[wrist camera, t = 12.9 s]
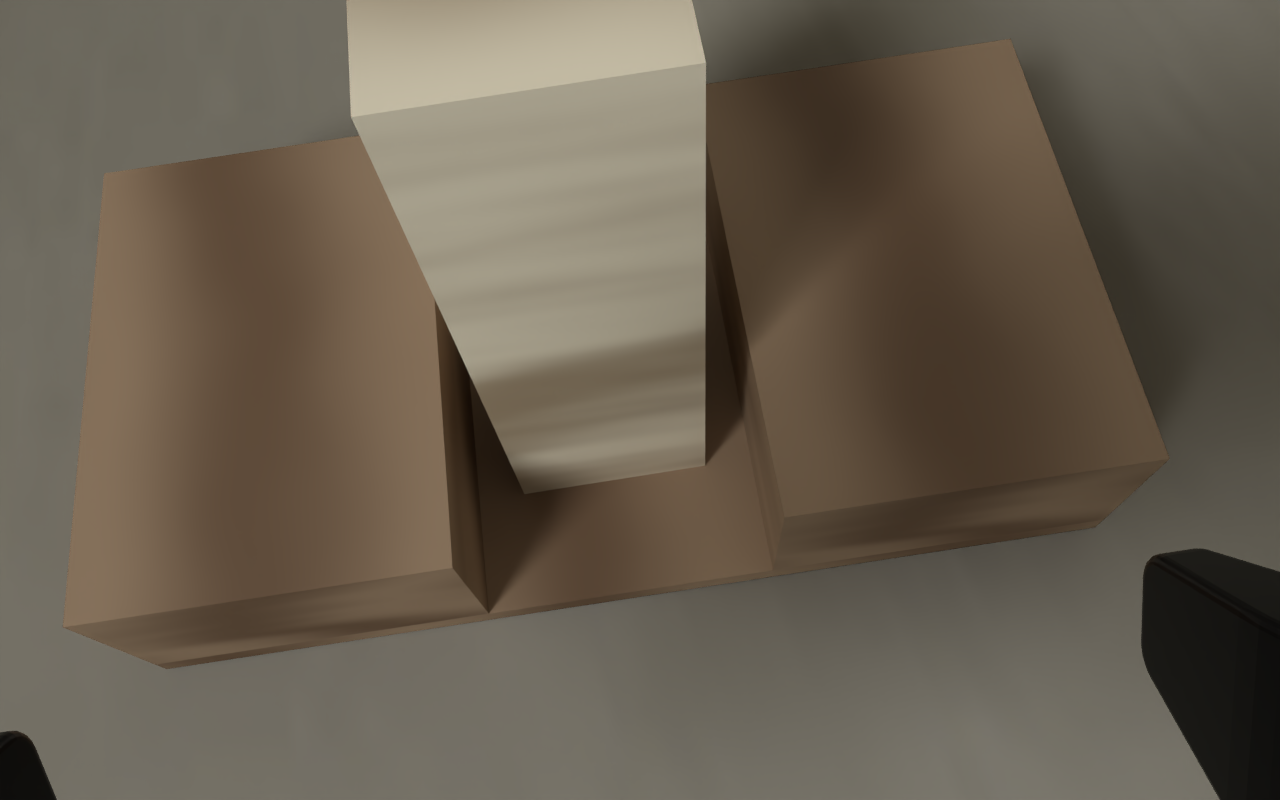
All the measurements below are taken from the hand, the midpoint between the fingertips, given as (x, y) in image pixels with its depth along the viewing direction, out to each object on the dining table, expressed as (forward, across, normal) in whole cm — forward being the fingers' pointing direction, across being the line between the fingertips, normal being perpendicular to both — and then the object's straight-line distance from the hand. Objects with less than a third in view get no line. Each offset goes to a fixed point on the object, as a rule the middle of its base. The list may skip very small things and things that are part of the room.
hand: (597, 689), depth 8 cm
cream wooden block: (+16, 0, +3) cm, 16 cm away
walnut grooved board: (+16, 0, +3) cm, 16 cm away
